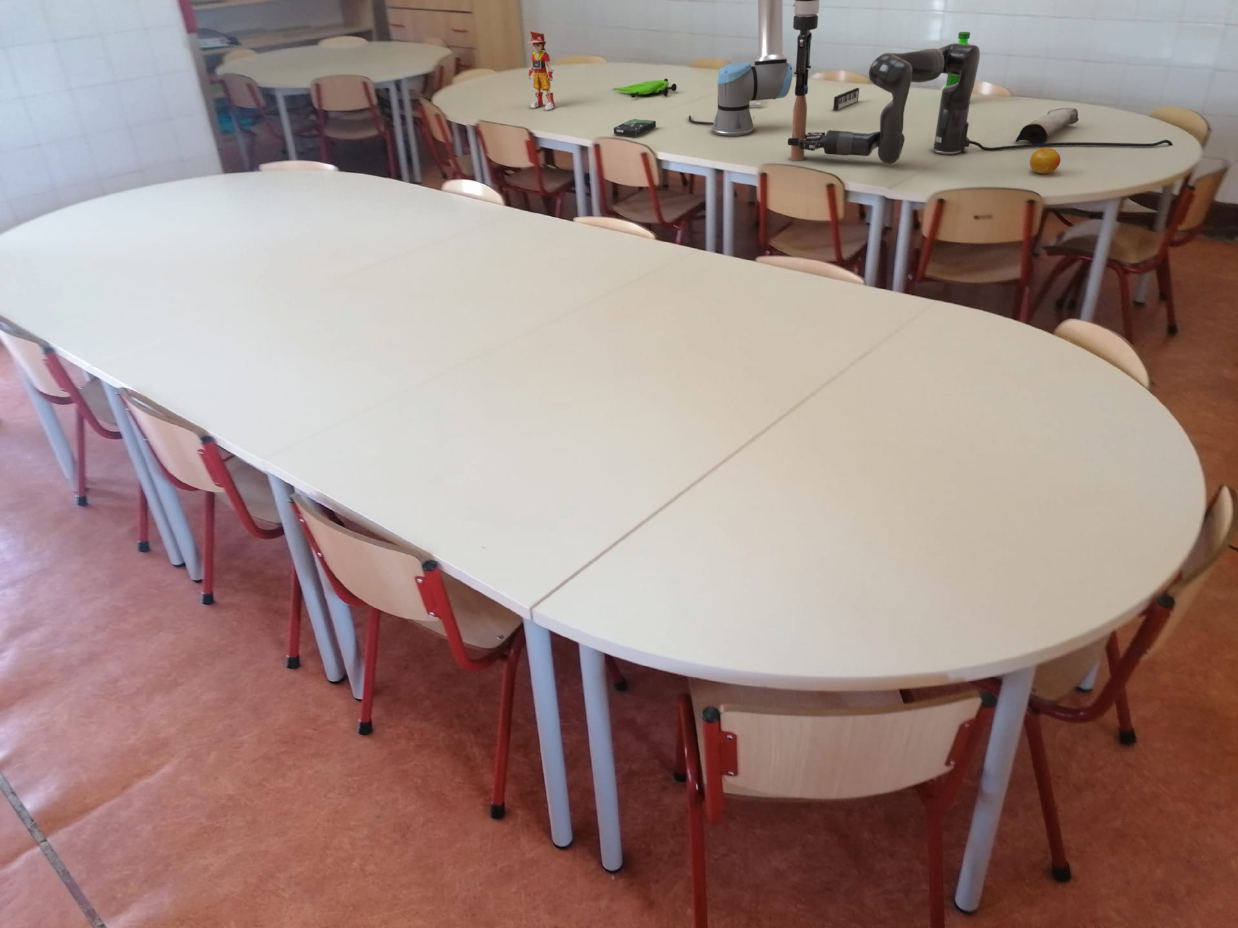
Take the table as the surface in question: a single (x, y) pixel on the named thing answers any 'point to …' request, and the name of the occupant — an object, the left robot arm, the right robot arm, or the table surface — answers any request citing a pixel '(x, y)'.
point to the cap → (804, 89)
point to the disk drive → (634, 127)
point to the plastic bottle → (962, 40)
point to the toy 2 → (648, 88)
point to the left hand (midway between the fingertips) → (801, 93)
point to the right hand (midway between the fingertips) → (790, 139)
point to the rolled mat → (1048, 125)
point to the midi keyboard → (846, 98)
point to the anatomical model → (754, 103)
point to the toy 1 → (541, 71)
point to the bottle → (799, 126)
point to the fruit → (1045, 160)
